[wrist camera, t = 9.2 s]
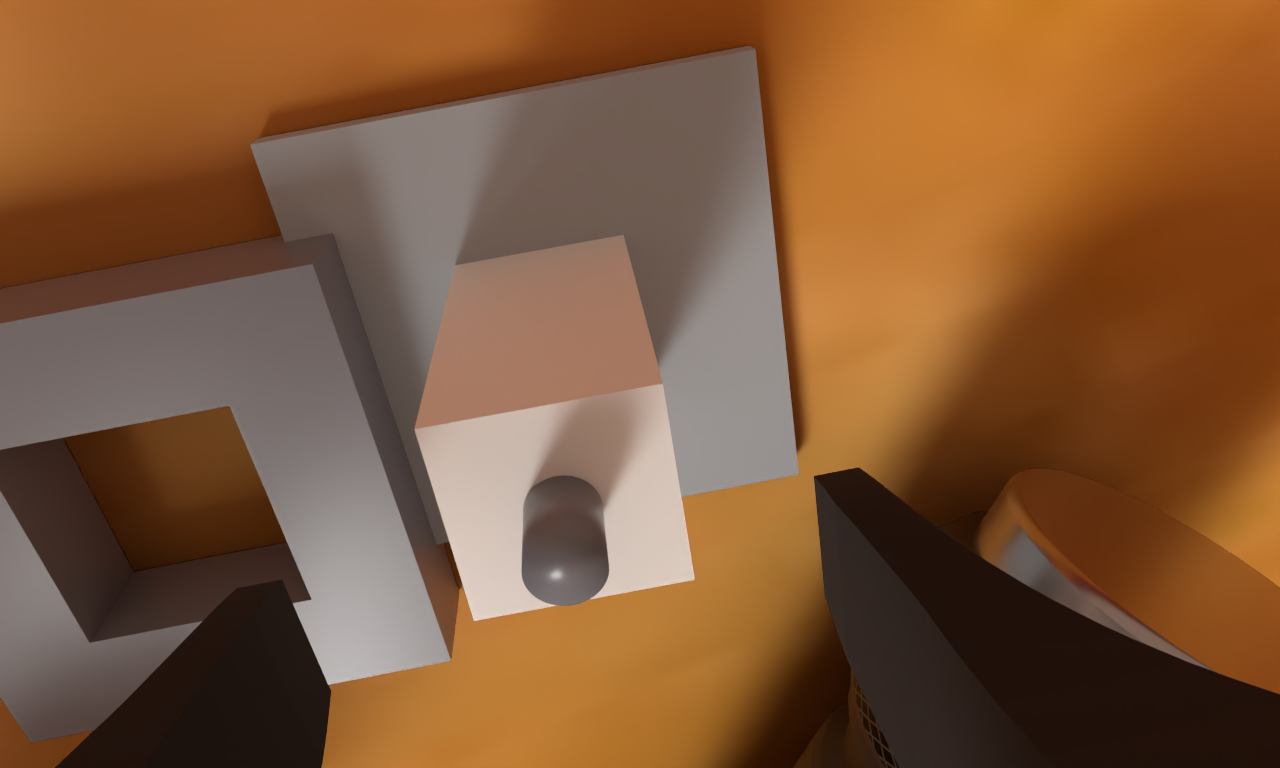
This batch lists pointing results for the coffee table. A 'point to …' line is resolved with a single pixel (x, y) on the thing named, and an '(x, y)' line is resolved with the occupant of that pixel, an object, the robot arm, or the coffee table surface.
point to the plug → (551, 433)
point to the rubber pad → (571, 235)
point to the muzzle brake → (1100, 590)
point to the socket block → (276, 440)
